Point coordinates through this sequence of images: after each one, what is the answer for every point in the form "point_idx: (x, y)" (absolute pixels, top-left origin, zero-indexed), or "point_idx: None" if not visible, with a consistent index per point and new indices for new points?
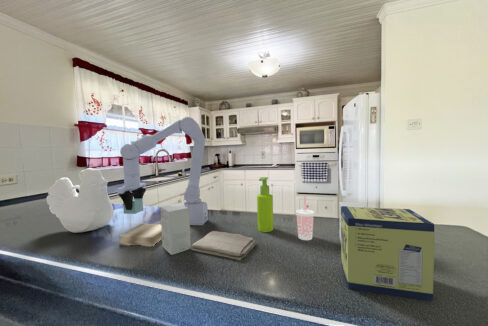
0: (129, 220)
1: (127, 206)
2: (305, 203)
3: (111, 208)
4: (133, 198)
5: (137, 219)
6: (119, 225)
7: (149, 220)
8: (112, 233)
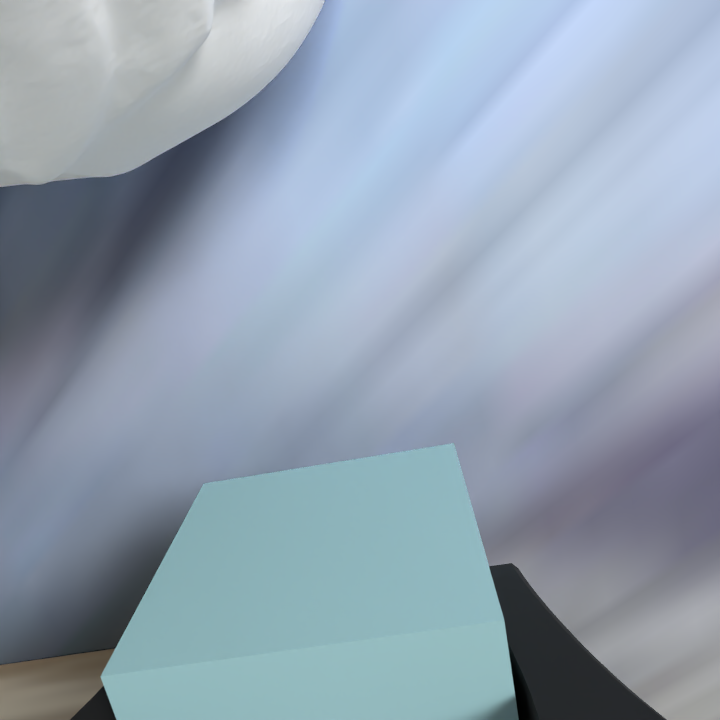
0: (611, 92)
1: None
2: None
3: (140, 132)
4: (508, 684)
5: (681, 192)
6: (361, 152)
7: (659, 421)
8: (99, 347)
